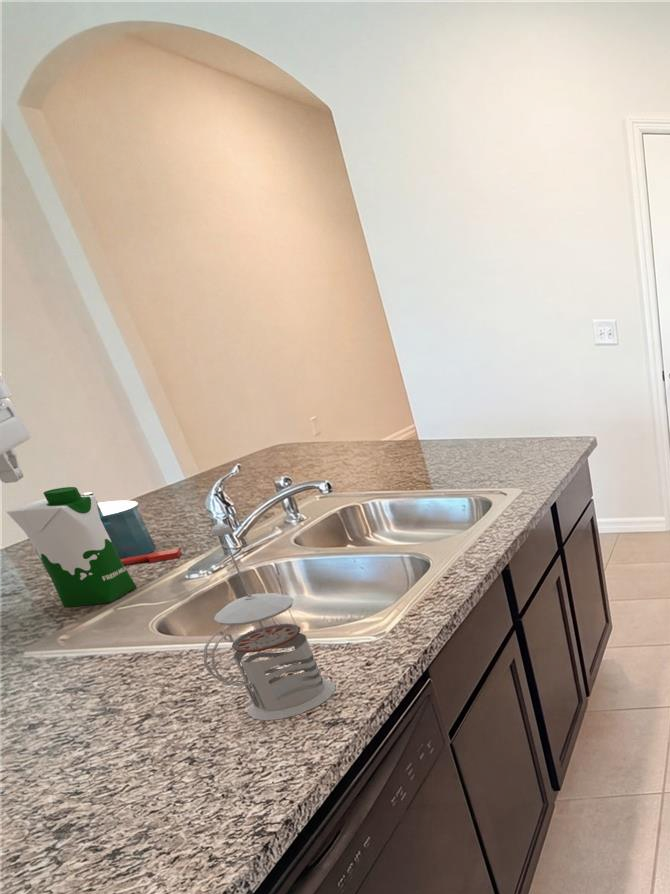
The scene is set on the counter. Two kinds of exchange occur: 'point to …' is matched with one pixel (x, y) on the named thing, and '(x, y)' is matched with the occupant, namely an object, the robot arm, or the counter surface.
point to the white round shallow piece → (114, 507)
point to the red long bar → (153, 557)
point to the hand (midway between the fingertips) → (14, 480)
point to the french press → (270, 655)
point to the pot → (129, 534)
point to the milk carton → (74, 547)
